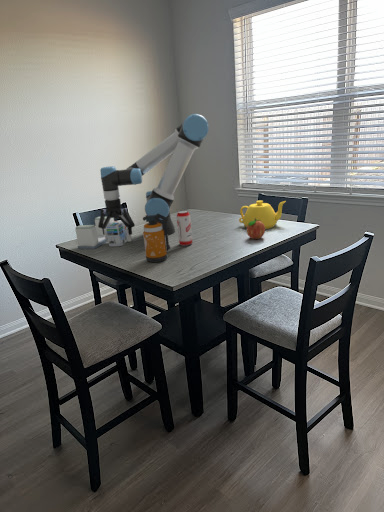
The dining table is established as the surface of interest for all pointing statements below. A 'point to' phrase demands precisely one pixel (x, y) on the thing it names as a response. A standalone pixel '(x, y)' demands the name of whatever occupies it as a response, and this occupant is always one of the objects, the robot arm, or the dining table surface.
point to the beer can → (184, 228)
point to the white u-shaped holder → (91, 235)
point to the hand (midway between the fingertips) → (118, 240)
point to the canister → (155, 238)
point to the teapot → (261, 214)
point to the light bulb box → (117, 233)
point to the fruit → (255, 229)
